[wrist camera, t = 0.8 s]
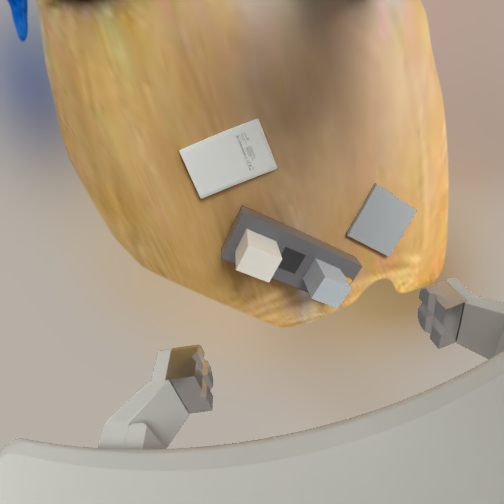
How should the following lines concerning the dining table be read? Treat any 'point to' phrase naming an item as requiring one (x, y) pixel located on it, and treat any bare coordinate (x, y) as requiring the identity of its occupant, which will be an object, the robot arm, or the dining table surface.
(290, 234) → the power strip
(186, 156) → the external hard drive
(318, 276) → the block
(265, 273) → the block
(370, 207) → the rubber mat
